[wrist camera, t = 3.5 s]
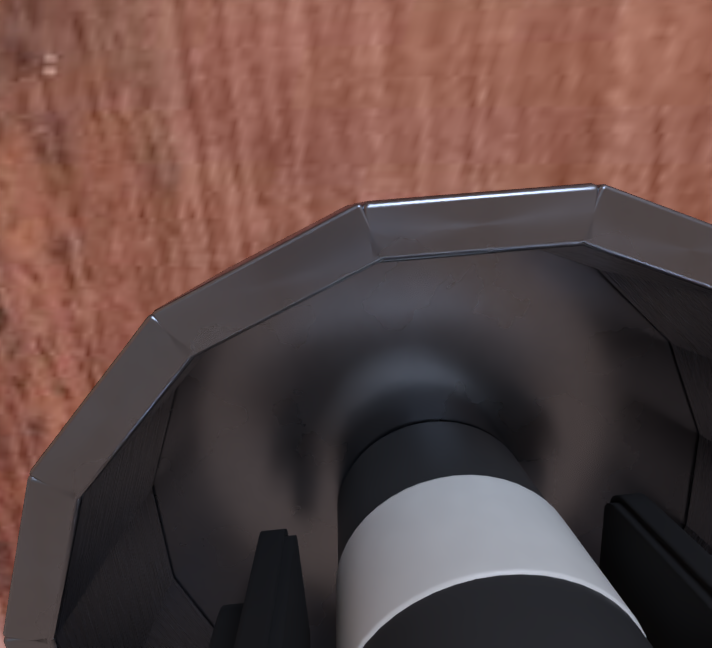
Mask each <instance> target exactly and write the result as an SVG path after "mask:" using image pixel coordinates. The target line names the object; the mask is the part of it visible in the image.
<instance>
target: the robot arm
mask: <svg viewBox="0 0 712 648" xmlns="http://www.w3.org/2000/svg"><path fill="white" fill-rule="evenodd" d="M599 569H600V570H601V571H602V573H603V574H604V575H605V577H606V578H607V579H608V581H609V582H610V584H611V585H612V586H613V588H614V589H615V590H616V592H617V593H618V594H619V596H620V597H621V598H622V600H623V601H624V603H625V604H626V605H627V607H628V608H629V609H630V611H631V612H632V613H633V615H634V616H635V617H636V619H637V620H638V622H639V624H640V625H641V627H642V629H643V631H644V633H645V635H646V638H647V640H648V641H649V642H650V644H651V645H652V646H653V648H712V556H711V555H710V554H709V553H708V552H707V551H706V550H705V549H703V548H702V547H701V546H700V545H699V544H698V543H697V542H696V541H695V540H694V539H693V538H692V537H690V536H689V535H688V534H687V533H686V532H685V531H684V530H683V529H682V528H681V527H680V526H679V525H677V524H676V523H675V522H674V521H673V520H672V519H671V518H670V517H669V516H668V515H667V514H665V513H664V512H663V511H662V510H661V509H660V508H659V507H658V506H657V505H656V504H655V503H654V502H652V501H651V500H650V499H649V498H648V497H647V496H645V495H644V494H642V493H633V494H623V495H615V496H613V497H612V498H611V500H610V503H607V504H606V505H605V508H604V517H603V528H602V540H601V552H600V563H599ZM208 648H310V627H309V620H308V613H307V605H306V598H305V591H304V583H303V576H302V568H301V561H300V554H299V546H298V539H297V535H290V536H288V531H287V529H277V530H267V531H261V532H260V535H259V538H258V543H257V547H256V551H255V556H254V560H253V565H252V569H251V573H250V578H249V582H248V587H247V591H246V595H245V600H244V603H238V604H229V605H223V606H222V607H221V609H220V611H219V613H218V616H217V619H216V623H215V626H214V630H213V633H212V637H211V640H210V644H209V647H208Z"/></svg>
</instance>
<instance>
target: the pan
mask: <svg viewBox="0 0 712 648" xmlns="http://www.w3.org/2000/svg"><path fill="white" fill-rule="evenodd" d="M440 421H443V422H455V423H460V424H464V425H469V426H472V427H474V428H477V429H480V430H482V431H484V432H486V433H488V434H490V435H492V436H493V437H494V438H496V439H497V440H499V441H500V442H501V443H502V444H503V445H505V446H506V447H507V448H508V449H509V450H510V452H511V453H512V454H513V455H514V457H515V458H516V459H517V461H518V462H519V463H520V465H521V466H522V468H523V469H524V470H525V472H526V473H527V474H528V476H529V477H530V479H531V480H532V481H533V483H534V484H535V485H536V487H537V488H538V490H539V491H540V492H541V494H542V495H543V496H544V498H545V499H546V501H547V502H548V503H549V504H550V505H551V506H552V507H553V508H554V509H555V510H556V511H557V512H558V513H559V515H560V516H561V517H562V519H563V520H564V521H565V523H566V524H567V525H568V527H569V528H570V529H571V531H572V532H573V533H574V535H575V536H576V537H577V539H578V540H579V541H580V543H581V544H582V546H583V547H584V548H585V550H586V551H587V552H588V554H589V555H590V556H591V558H592V559H593V560H594V562H595V563H596V565H597V566H598V567H599V563H600V552H601V540H602V528H603V517H604V508H605V505H606V504H607V503H610V500H611V498H612V497H613V496H615V495H623V494H633V493H642V494H644V495H645V496H647V497H648V498H649V499H650V500H651V501H652V502H654V503H655V504H656V505H657V506H658V507H659V508H660V509H661V510H662V511H663V512H664V513H665V514H667V515H668V516H669V517H670V518H671V519H672V520H673V521H674V522H675V523H676V524H677V525H679V526H680V527H681V528H682V529H683V530H684V531H685V532H686V533H687V534H688V535H689V536H690V537H692V538H693V539H694V540H695V541H696V542H697V543H698V544H699V545H700V546H701V547H702V548H703V549H705V550H706V551H707V552H708V553H709V554H710V555H711V556H712V224H710V223H707V222H704V221H702V220H699V219H696V218H694V217H691V216H688V215H685V214H683V213H680V212H677V211H675V210H672V209H669V208H667V207H664V206H661V205H659V204H656V203H653V202H651V201H648V200H645V199H643V198H640V197H637V196H635V195H632V194H629V193H627V192H624V191H621V190H619V189H616V188H613V187H611V186H608V185H605V184H602V185H595V184H592V183H587V184H574V185H562V186H550V187H537V188H525V189H512V190H500V191H487V192H475V193H462V194H450V195H438V196H425V197H413V198H400V199H388V200H375V201H366V202H360V203H355V204H352V205H347V206H345V207H343V208H341V209H339V210H337V211H335V212H333V213H332V214H330V215H328V216H326V217H324V218H322V219H320V220H318V221H316V222H315V223H313V224H311V225H309V226H307V227H305V228H303V229H301V230H299V231H298V232H296V233H294V234H292V235H290V236H288V237H286V238H284V239H282V240H281V241H279V242H277V243H275V244H273V245H271V246H269V247H267V248H265V249H264V250H262V251H260V252H258V253H256V254H254V255H252V256H250V257H248V258H246V259H245V260H243V261H241V262H239V263H237V264H235V265H233V266H231V267H229V268H228V269H226V270H224V271H222V272H220V273H219V274H217V275H215V276H213V277H212V278H210V279H208V280H207V281H205V282H203V283H201V284H200V285H198V286H196V287H194V288H193V289H191V290H189V291H187V292H186V293H184V294H182V295H180V296H179V297H177V298H175V299H173V300H172V301H170V302H168V303H166V304H165V305H163V306H161V307H159V308H158V309H156V310H155V311H154V312H153V313H152V314H151V315H149V316H148V317H147V318H146V320H145V321H144V322H143V324H142V325H141V326H140V327H139V329H138V330H137V331H136V333H135V334H134V335H133V337H132V338H131V339H130V341H129V342H128V343H127V345H126V346H125V347H124V348H123V350H122V351H121V352H120V354H119V355H118V356H117V358H116V359H115V360H114V362H113V363H112V364H111V365H110V367H109V368H108V369H107V371H106V372H105V373H104V375H103V376H102V377H101V379H100V380H99V381H98V382H97V384H96V385H95V386H94V388H93V389H92V390H91V392H90V393H89V394H88V396H87V397H86V398H85V399H84V401H83V402H82V403H81V405H80V406H79V407H78V409H77V410H76V411H75V413H74V414H73V415H72V416H71V418H70V419H69V420H68V422H67V423H66V424H65V426H64V427H63V428H62V430H61V431H60V432H59V434H58V435H57V436H56V437H55V439H54V440H53V441H52V443H51V444H50V445H49V447H48V448H47V449H46V451H45V452H44V453H43V454H42V456H41V457H40V458H39V460H38V461H37V462H36V464H35V465H34V466H33V468H32V469H31V471H30V476H29V477H28V480H27V487H26V493H25V499H24V506H23V512H22V518H21V525H20V531H19V537H18V543H17V550H16V556H15V562H14V569H13V575H12V581H11V588H10V594H9V600H8V606H7V613H6V619H5V625H4V632H3V635H4V636H5V638H4V643H5V646H6V648H208V647H209V644H210V640H211V637H212V633H213V630H214V626H215V623H216V619H217V616H218V613H219V611H220V609H221V607H222V606H223V605H229V604H238V603H244V600H245V595H246V591H247V587H248V582H249V578H250V573H251V569H252V565H253V560H254V556H255V551H256V547H257V543H258V538H259V535H260V532H261V531H267V530H277V529H287V531H288V536H290V535H297V539H298V546H299V554H300V561H301V568H302V576H303V583H304V591H305V598H306V605H307V613H308V620H309V627H310V648H336V576H337V569H338V523H337V506H338V498H339V494H340V490H341V486H342V484H343V482H344V479H345V477H346V475H347V473H348V472H349V470H350V469H351V467H352V465H353V464H354V463H355V462H356V460H357V459H358V458H359V457H360V456H361V454H362V453H363V452H365V451H366V450H367V449H368V448H369V447H370V446H371V445H372V444H374V443H375V442H377V441H378V440H379V439H381V438H383V437H384V436H386V435H388V434H390V433H392V432H394V431H396V430H399V429H401V428H404V427H407V426H411V425H414V424H419V423H425V422H440Z"/></svg>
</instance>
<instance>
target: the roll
mask: <svg viewBox="0 0 712 648" xmlns="http://www.w3.org/2000/svg"><path fill="white" fill-rule="evenodd" d="M337 523H338V569H337V576H336V648H653V646H652V645H651V644H650V642H649V641H648V640H647V638H646V635H645V633H644V631H643V629H642V627H641V625H640V624H639V622H638V620H637V619H636V617H635V616H634V615H633V613H632V612H631V611H630V609H629V608H628V607H627V605H626V604H625V603H624V601H623V600H622V598H621V597H620V596H619V594H618V593H617V592H616V590H615V589H614V588H613V586H612V585H611V584H610V582H609V581H608V579H607V578H606V577H605V575H604V574H603V573H602V571H601V570H600V569H599V567H598V566H597V565H596V563H595V562H594V560H593V559H592V558H591V556H590V555H589V554H588V552H587V551H586V550H585V548H584V547H583V546H582V544H581V543H580V541H579V540H578V539H577V537H576V536H575V535H574V533H573V532H572V531H571V529H570V528H569V527H568V525H567V524H566V523H565V521H564V520H563V519H562V517H561V516H560V515H559V513H558V512H557V511H556V510H555V509H554V508H553V507H552V506H551V505H550V504H549V503H548V502H547V501H546V499H545V498H544V496H543V495H542V494H541V492H540V491H539V490H538V488H537V487H536V485H535V484H534V483H533V481H532V480H531V479H530V477H529V476H528V474H527V473H526V472H525V470H524V469H523V468H522V466H521V465H520V463H519V462H518V461H517V459H516V458H515V457H514V455H513V454H512V453H511V452H510V450H509V449H508V448H507V447H506V446H505V445H503V444H502V443H501V442H500V441H499V440H497V439H496V438H494V437H493V436H492V435H490V434H488V433H486V432H484V431H482V430H480V429H477V428H474V427H472V426H469V425H464V424H460V423H455V422H443V421H440V422H425V423H419V424H414V425H411V426H407V427H404V428H401V429H399V430H396V431H394V432H392V433H390V434H388V435H386V436H384V437H383V438H381V439H379V440H378V441H377V442H375V443H374V444H372V445H371V446H370V447H369V448H368V449H367V450H366V451H365V452H363V453H362V454H361V456H360V457H359V458H358V459H357V460H356V462H355V463H354V464H353V465H352V467H351V469H350V470H349V472H348V473H347V475H346V477H345V479H344V482H343V484H342V486H341V490H340V494H339V498H338V506H337Z"/></svg>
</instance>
